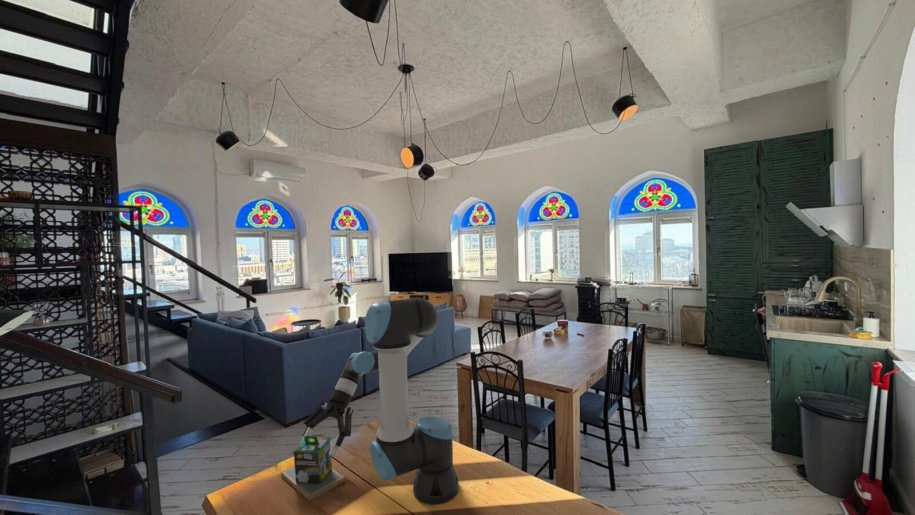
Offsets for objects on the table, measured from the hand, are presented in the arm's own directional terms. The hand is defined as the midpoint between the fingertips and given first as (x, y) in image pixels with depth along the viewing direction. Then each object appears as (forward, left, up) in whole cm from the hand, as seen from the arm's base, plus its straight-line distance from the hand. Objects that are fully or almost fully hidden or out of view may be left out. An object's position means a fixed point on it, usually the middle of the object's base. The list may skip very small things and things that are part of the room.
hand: (316, 451), depth 136 cm
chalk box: (-1, +2, -8) cm, 8 cm away
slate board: (0, +2, -9) cm, 9 cm away
